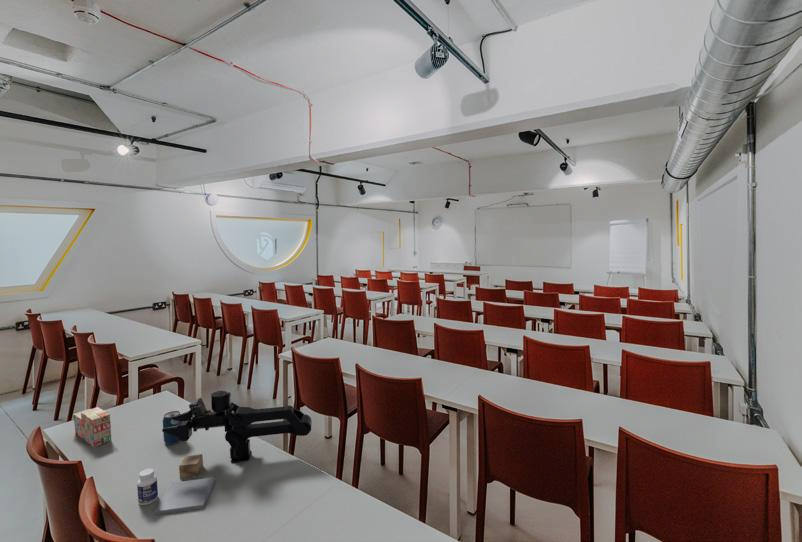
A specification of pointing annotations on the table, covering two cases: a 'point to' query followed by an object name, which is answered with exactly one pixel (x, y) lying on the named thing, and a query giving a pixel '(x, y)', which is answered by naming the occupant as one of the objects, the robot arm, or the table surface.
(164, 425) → the soda can
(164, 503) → the base plate
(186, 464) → the tan wooden block
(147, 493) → the pill bottle
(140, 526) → the table surface
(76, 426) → the stack of blocks
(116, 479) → the table surface
